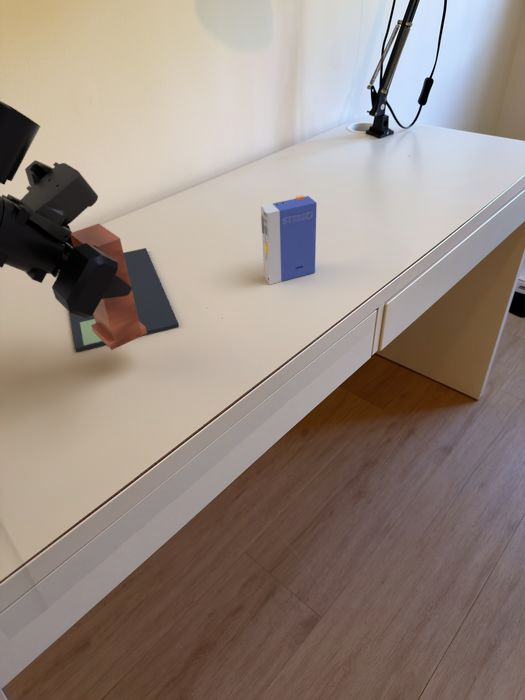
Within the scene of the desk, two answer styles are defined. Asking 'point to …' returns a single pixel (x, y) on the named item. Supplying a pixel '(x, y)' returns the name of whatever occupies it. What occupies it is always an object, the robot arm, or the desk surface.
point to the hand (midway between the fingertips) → (118, 282)
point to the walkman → (289, 239)
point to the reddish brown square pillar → (119, 312)
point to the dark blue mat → (147, 301)
